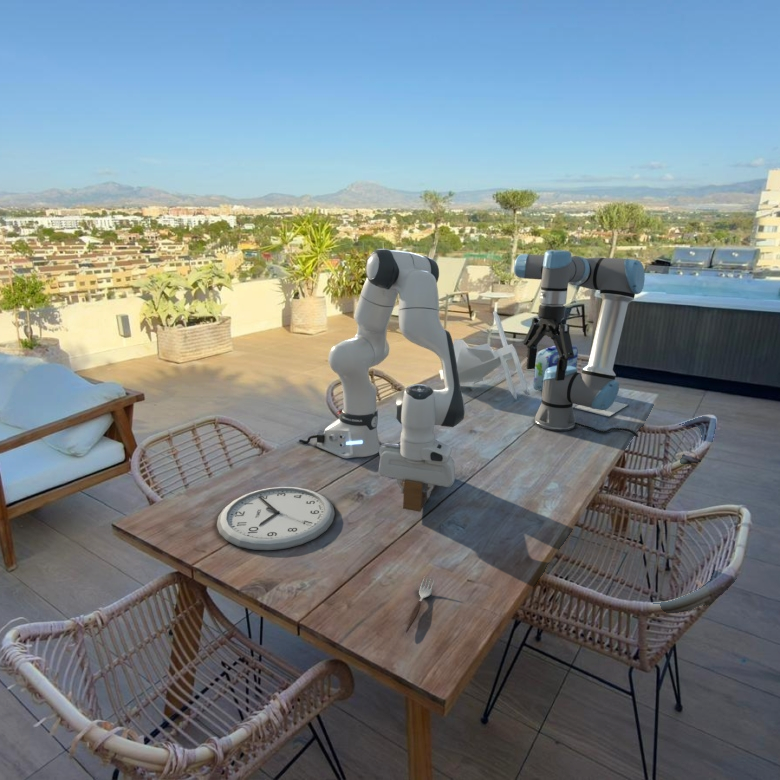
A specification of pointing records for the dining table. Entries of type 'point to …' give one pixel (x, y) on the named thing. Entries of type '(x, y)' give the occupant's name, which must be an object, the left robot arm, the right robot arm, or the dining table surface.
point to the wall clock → (275, 518)
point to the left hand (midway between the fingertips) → (415, 494)
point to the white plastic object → (486, 361)
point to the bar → (414, 495)
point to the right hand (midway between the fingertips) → (544, 374)
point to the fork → (423, 593)
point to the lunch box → (549, 364)
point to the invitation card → (608, 412)
